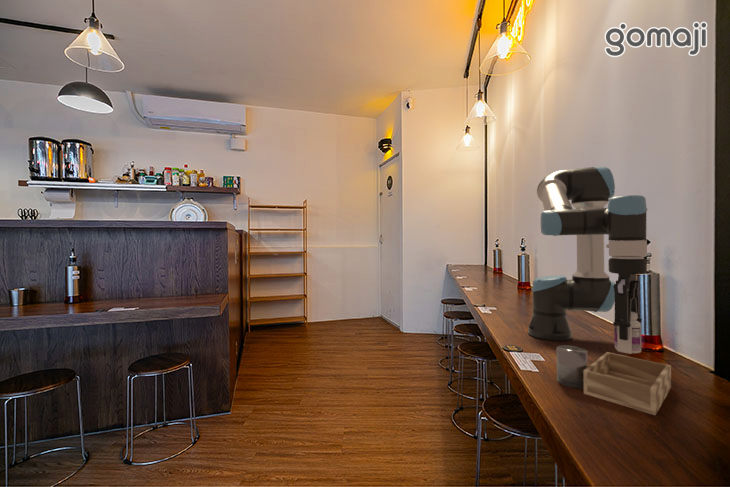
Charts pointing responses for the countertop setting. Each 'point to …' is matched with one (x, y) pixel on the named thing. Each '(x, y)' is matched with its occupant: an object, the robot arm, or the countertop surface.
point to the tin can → (571, 365)
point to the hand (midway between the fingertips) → (627, 349)
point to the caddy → (628, 381)
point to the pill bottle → (635, 333)
